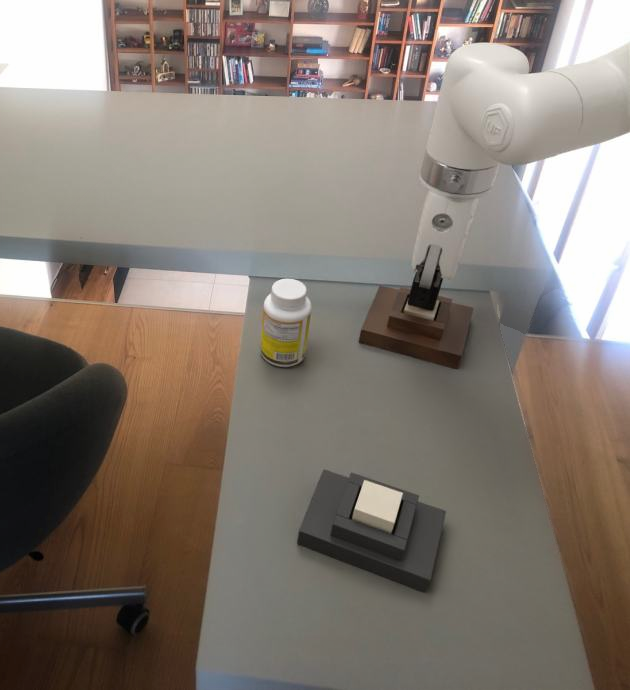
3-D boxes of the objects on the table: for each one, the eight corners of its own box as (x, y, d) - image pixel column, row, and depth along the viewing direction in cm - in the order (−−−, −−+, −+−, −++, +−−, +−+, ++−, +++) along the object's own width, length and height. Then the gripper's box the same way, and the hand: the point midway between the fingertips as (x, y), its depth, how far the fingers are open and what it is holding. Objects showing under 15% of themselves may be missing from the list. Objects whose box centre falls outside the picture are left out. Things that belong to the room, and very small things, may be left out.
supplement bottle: (284, 333, 89) (291, 268, 82) (314, 357, 86) (324, 291, 79) (250, 350, 87) (255, 285, 80) (280, 375, 83) (287, 309, 76)
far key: (436, 311, 88) (439, 300, 86) (431, 328, 85) (434, 317, 84) (407, 304, 89) (410, 293, 88) (401, 320, 86) (404, 309, 85)
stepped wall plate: (441, 523, 67) (450, 499, 65) (425, 593, 62) (435, 569, 59) (320, 482, 71) (325, 457, 69) (296, 543, 66) (300, 519, 63)
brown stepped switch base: (469, 321, 90) (477, 296, 87) (457, 369, 83) (465, 344, 81) (377, 298, 94) (382, 274, 91) (358, 342, 87) (363, 317, 85)
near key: (399, 503, 65) (403, 492, 64) (391, 534, 62) (394, 523, 61) (361, 490, 66) (364, 479, 65) (351, 520, 64) (354, 508, 63)
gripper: (486, 210, 67) (441, 349, 80) (504, 146, 77) (462, 279, 90) (408, 195, 70) (376, 332, 82) (435, 134, 80) (403, 265, 92)
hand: (421, 304), depth 86 cm, fingers closed
